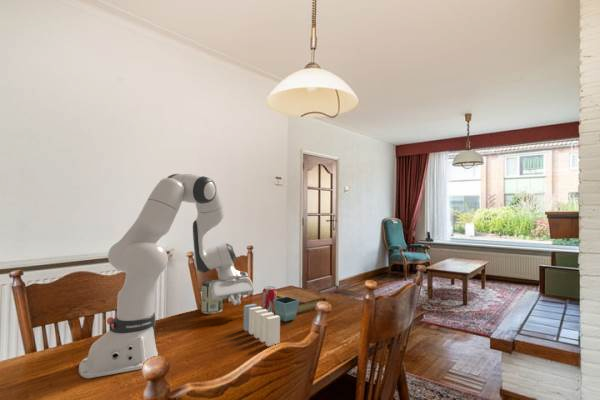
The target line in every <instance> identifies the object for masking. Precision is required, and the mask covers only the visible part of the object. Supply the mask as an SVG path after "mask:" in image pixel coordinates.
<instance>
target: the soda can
mask: <svg viewBox="0 0 600 400" xmlns="http://www.w3.org/2000/svg"><path fill="white" fill-rule="evenodd" d="M277 292H278V291H277V289H276V287H275V286H274V285H273V286H269V285H268V286H267V285H266V286H264V287H263V289H262V293H261V297H262V298H261V307H262V310H263V309H266V310H268V313H269V312H272V313H275V310H274V303H273V300H274V299H277Z"/></svg>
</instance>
